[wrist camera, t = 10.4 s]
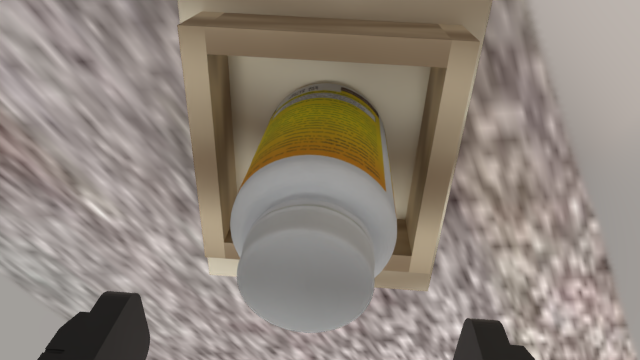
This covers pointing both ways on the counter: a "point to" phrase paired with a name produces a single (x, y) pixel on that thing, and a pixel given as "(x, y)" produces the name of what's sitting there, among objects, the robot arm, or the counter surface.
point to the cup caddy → (343, 69)
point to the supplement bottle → (315, 211)
